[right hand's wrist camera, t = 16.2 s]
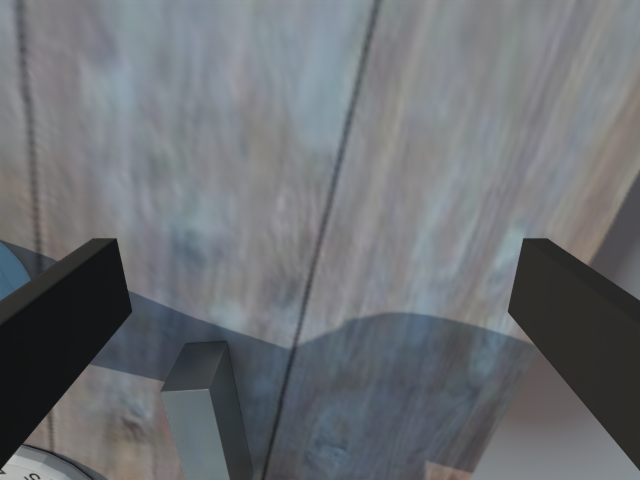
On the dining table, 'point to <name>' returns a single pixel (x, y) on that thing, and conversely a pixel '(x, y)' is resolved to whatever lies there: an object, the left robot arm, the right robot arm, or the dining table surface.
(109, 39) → the dining table surface
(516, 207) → the dining table surface
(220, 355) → the bar
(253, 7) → the dining table surface
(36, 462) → the wall clock
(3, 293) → the left robot arm
